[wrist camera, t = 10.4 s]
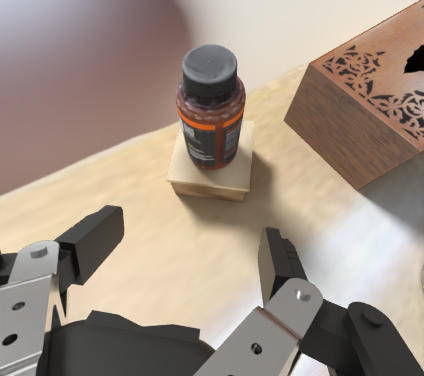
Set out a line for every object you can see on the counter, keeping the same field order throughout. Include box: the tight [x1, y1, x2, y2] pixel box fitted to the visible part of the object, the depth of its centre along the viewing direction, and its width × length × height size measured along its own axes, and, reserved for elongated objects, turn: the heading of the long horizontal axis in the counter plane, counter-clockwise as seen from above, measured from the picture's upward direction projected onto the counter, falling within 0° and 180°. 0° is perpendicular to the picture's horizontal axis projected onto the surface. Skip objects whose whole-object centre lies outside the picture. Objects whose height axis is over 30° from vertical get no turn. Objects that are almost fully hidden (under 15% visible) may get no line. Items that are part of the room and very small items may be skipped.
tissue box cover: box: [284, 0, 424, 190], centre depth 29 cm, size 26×14×10 cm, turn 125°
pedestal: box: [166, 120, 255, 202], centre depth 28 cm, size 9×9×5 cm
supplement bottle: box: [176, 45, 246, 170], centre depth 20 cm, size 6×6×11 cm
